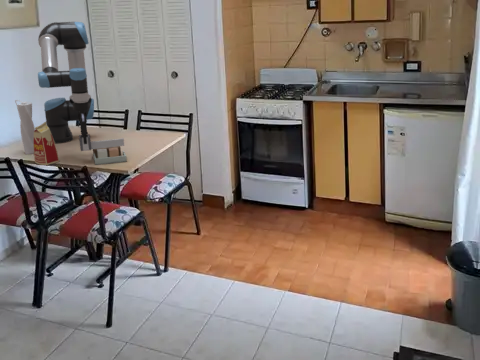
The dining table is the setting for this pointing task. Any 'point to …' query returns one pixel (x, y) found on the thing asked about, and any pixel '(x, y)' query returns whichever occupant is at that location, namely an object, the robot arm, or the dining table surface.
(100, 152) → the tile white
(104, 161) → the tray
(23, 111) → the skyscraper
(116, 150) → the tile terracotta
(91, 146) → the scraper
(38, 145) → the milk carton
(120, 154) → the board
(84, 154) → the dining table surface
